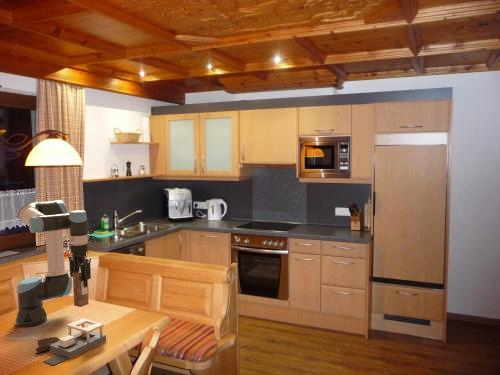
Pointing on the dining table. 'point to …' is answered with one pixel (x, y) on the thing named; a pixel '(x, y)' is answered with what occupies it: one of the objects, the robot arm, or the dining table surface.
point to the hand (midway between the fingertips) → (81, 292)
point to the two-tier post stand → (80, 339)
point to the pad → (55, 360)
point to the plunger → (84, 332)
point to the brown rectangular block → (79, 290)
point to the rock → (45, 344)
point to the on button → (67, 341)
